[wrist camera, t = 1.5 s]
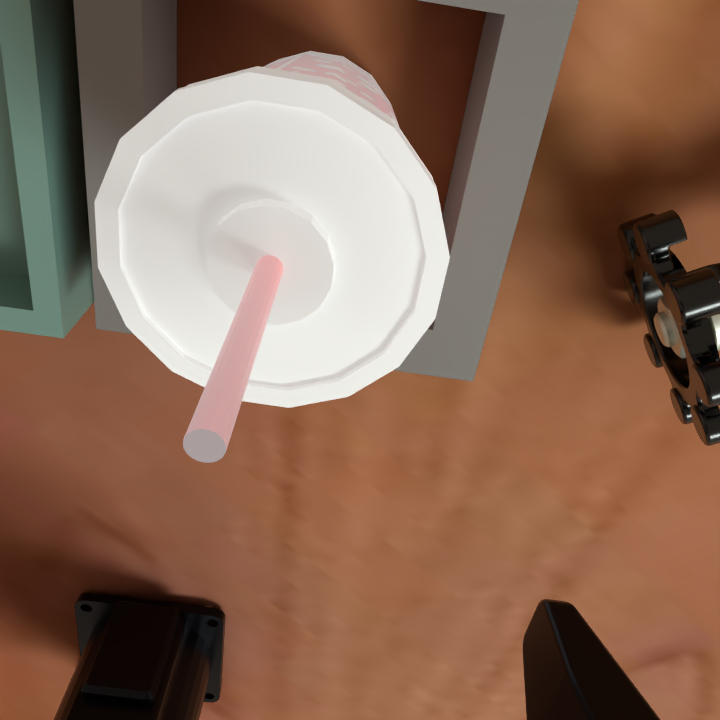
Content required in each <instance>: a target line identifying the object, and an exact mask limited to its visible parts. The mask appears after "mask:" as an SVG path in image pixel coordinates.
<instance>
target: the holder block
mask: <svg viewBox="0 0 720 720" xmlns="http://www.w3.org/2000/svg"><path fill="white" fill-rule="evenodd" d="M419 1H425V2H431V3H437V4H443V5H449V6H455V7H461V8H467V9H473V10H479V11H485V12H486V16H485V20H484V25H483V29H482V34H481V39H480V43H479V48H478V53H477V57H476V62H475V67H474V71H473V76H472V80H471V85H470V90H469V94H468V99H467V104H466V108H465V113H464V118H463V122H462V127H461V132H460V136H459V141H458V145H457V150H456V155H455V159H454V164H453V169H452V173H451V178H450V183H449V187H448V192H447V196H446V201H445V206H444V210H443V215H442V218H443V223H444V229H445V234H446V239H447V245H448V250H449V255H450V259H449V264H448V268H447V272H446V276H445V280H444V285H443V289H442V293H441V297H440V301H439V305H438V310H437V314H436V318H435V320H434V321H433V323H432V324H431V325H430V326H429V328H428V329H427V330H426V332H425V333H424V334H423V336H422V337H421V338H420V340H419V341H418V342H417V344H416V345H415V346H414V348H413V349H412V350H411V352H410V353H409V354H408V355H407V357H406V358H405V359H404V361H403V362H402V363H401V365H400V366H399V367H398V368H396V369H394V370H395V371H402V372H409V373H416V374H424V375H431V376H438V377H445V378H452V379H459V380H466V381H473V380H474V376H475V373H476V369H477V366H478V362H479V358H480V355H481V351H482V348H483V344H484V340H485V337H486V333H487V330H488V326H489V322H490V319H491V315H492V312H493V308H494V304H495V301H496V297H497V294H498V290H499V286H500V283H501V279H502V276H503V272H504V268H505V265H506V261H507V258H508V254H509V250H510V247H511V243H512V240H513V236H514V232H515V229H516V225H517V222H518V218H519V214H520V211H521V207H522V203H523V200H524V196H525V193H526V189H527V185H528V182H529V178H530V175H531V171H532V167H533V164H534V160H535V157H536V153H537V149H538V146H539V142H540V139H541V135H542V131H543V128H544V124H545V121H546V117H547V113H548V110H549V106H550V103H551V99H552V95H553V92H554V88H555V85H556V81H557V77H558V74H559V70H560V67H561V63H562V59H563V56H564V52H565V49H566V45H567V41H568V38H569V34H570V30H571V27H572V23H573V20H574V16H575V12H576V9H577V5H578V2H579V0H419ZM73 2H74V17H75V31H76V45H77V60H78V74H79V88H80V103H81V117H82V131H83V146H84V160H85V174H86V189H87V203H88V217H89V232H90V246H91V260H92V275H93V289H94V303H95V318H96V329H102V330H109V331H116V332H123V333H130V334H133V333H132V332H131V331H130V330H129V329H128V328H127V327H126V325H125V323H124V321H123V319H122V317H121V315H120V312H119V310H118V308H117V306H116V304H115V302H114V300H113V298H112V296H111V294H110V292H109V290H108V287H107V285H106V283H105V281H104V279H103V277H102V275H101V273H100V271H99V269H98V258H97V241H96V223H95V205H94V202H95V199H96V197H97V194H98V192H99V189H100V187H101V184H102V182H103V179H104V177H105V174H106V172H107V169H108V167H109V164H110V162H111V160H112V157H113V155H114V152H115V150H116V147H117V145H118V142H119V140H120V138H122V137H123V136H124V135H125V134H126V133H127V132H128V131H130V130H131V129H132V128H133V127H134V126H135V125H136V124H138V123H139V122H140V121H141V120H142V119H143V118H144V117H146V116H147V115H148V114H149V113H150V112H151V111H152V110H154V109H155V108H156V107H157V106H158V105H159V104H160V103H162V102H163V101H164V100H165V99H166V98H167V97H168V96H170V95H171V94H172V93H173V92H174V91H176V90H177V0H73Z"/></svg>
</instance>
